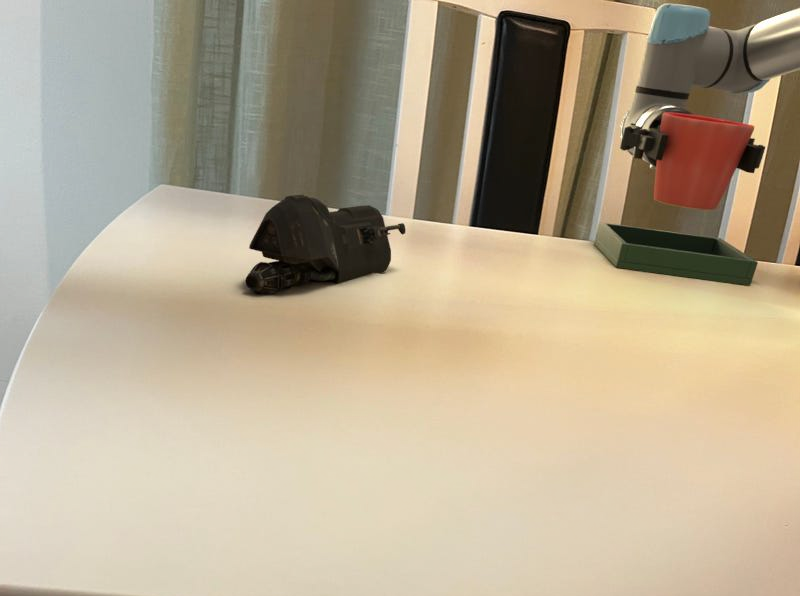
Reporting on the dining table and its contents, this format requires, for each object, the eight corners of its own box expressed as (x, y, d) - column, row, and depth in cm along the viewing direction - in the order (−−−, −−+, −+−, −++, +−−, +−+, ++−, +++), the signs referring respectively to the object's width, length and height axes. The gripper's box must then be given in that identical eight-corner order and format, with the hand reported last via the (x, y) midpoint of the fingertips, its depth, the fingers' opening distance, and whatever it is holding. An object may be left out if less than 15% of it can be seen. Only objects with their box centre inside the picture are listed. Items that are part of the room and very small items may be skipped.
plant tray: (714, 260, 137) (720, 238, 135) (750, 285, 123) (758, 262, 121) (593, 243, 137) (599, 221, 135) (615, 267, 123) (622, 243, 121)
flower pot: (741, 216, 121) (769, 127, 116) (652, 205, 121) (676, 115, 116) (714, 203, 131) (738, 120, 125) (631, 193, 130) (652, 109, 125)
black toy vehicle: (399, 277, 106) (412, 194, 102) (284, 307, 86) (294, 205, 82) (342, 264, 108) (353, 182, 104) (216, 290, 89) (224, 191, 84)
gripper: (739, 178, 140) (792, 201, 121) (577, 155, 140) (604, 175, 121) (758, 118, 136) (815, 132, 117) (590, 95, 136) (621, 105, 117)
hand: (708, 154), depth 119 cm, fingers closed on flower pot, 10 cm apart
